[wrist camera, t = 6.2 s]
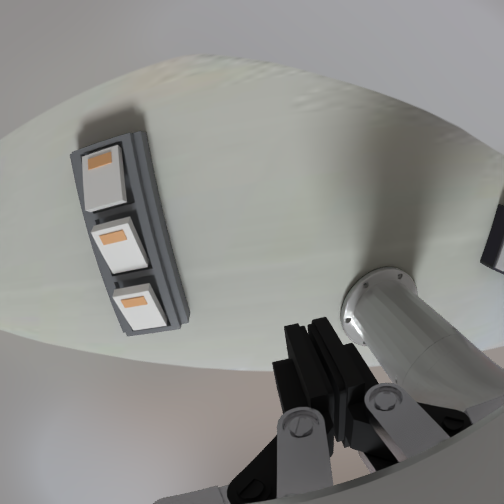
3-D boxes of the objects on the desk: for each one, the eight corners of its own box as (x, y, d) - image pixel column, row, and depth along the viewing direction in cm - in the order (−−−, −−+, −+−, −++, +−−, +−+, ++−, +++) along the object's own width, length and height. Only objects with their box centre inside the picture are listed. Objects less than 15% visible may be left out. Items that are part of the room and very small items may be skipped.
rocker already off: (167, 317, 35) (166, 326, 34) (134, 323, 35) (133, 331, 34) (149, 282, 31) (148, 291, 30) (114, 289, 31) (112, 298, 30)
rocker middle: (148, 259, 33) (147, 267, 32) (114, 266, 33) (112, 274, 32) (130, 216, 29) (127, 223, 28) (93, 225, 29) (90, 233, 28)
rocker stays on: (127, 202, 28) (121, 199, 27) (90, 212, 28) (84, 210, 27) (121, 148, 28) (117, 144, 27) (86, 160, 28) (81, 156, 27)
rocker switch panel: (190, 312, 38) (187, 327, 35) (128, 322, 38) (121, 337, 35) (146, 132, 31) (137, 130, 27) (79, 153, 31) (65, 154, 27)
